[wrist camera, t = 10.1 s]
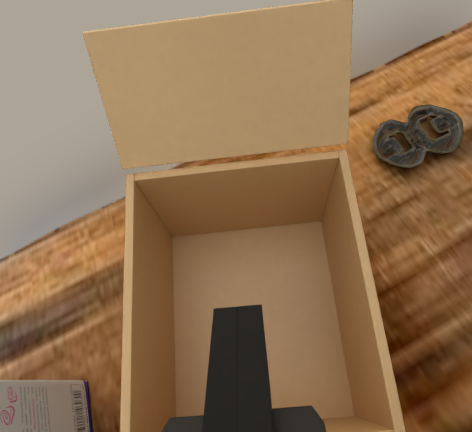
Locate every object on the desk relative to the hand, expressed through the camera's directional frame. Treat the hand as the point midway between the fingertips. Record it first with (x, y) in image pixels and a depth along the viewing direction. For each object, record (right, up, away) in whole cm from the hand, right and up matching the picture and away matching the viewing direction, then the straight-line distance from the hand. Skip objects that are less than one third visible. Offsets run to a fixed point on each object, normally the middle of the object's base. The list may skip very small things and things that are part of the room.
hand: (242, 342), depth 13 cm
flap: (-1, +10, +8) cm, 13 cm away
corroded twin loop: (+15, +10, +23) cm, 29 cm away
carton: (+1, -4, +18) cm, 18 cm away
